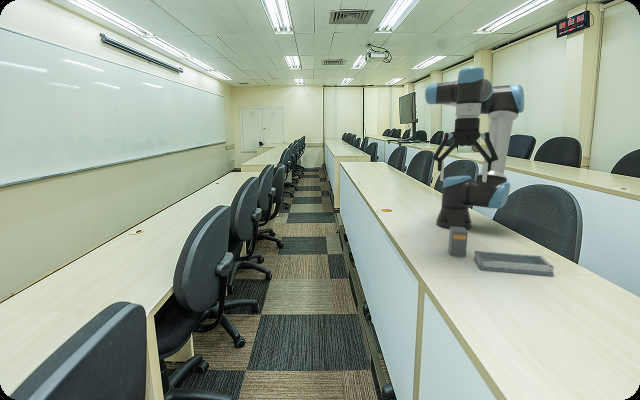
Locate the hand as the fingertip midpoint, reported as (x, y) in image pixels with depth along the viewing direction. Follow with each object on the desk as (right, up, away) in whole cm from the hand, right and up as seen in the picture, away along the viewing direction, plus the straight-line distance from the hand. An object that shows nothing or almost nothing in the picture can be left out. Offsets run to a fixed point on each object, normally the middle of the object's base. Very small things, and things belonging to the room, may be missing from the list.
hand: (462, 181), depth 110 cm
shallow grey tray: (+13, -28, -7) cm, 31 cm away
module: (0, -26, +5) cm, 26 cm away
